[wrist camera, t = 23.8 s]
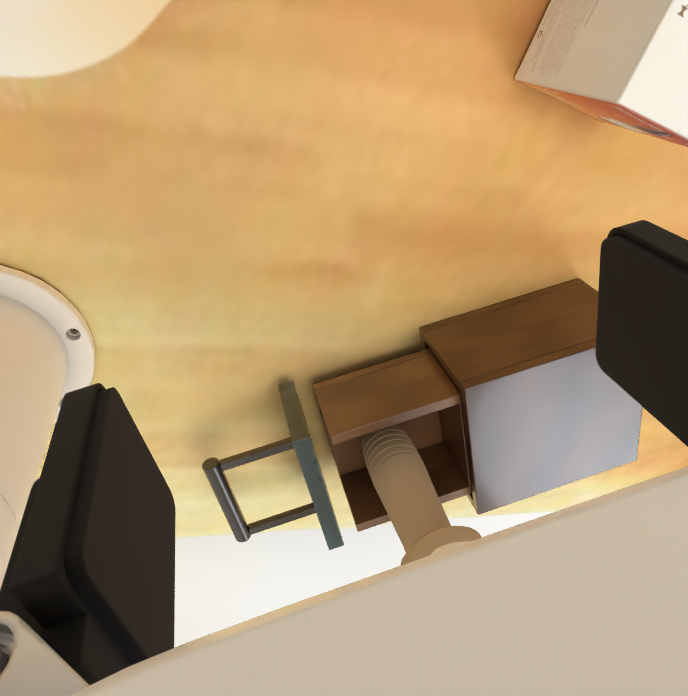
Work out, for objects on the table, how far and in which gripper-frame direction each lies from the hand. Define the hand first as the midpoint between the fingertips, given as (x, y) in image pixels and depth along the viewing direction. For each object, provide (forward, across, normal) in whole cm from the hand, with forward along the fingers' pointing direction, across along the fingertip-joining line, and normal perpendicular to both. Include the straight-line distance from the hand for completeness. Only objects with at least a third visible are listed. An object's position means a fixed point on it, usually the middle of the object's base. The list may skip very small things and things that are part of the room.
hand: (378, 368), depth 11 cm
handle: (+26, -3, +24) cm, 36 cm away
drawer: (+27, 0, +25) cm, 37 cm away
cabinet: (+28, -16, +24) cm, 40 cm away
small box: (+28, -22, +2) cm, 36 cm away
